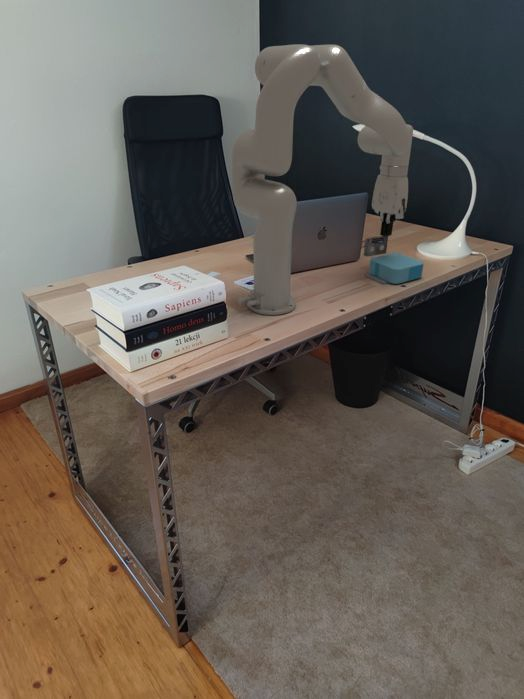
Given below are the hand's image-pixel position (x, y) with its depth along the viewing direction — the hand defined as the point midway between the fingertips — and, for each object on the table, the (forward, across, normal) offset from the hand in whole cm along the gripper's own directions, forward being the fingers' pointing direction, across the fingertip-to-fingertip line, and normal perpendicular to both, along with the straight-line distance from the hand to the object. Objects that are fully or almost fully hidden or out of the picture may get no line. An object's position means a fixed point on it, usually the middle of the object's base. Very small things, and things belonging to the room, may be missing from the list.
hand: (385, 235), depth 152 cm
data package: (+9, -1, 0) cm, 9 cm away
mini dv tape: (+12, -14, +10) cm, 21 cm away
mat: (+11, +5, 0) cm, 12 cm away
